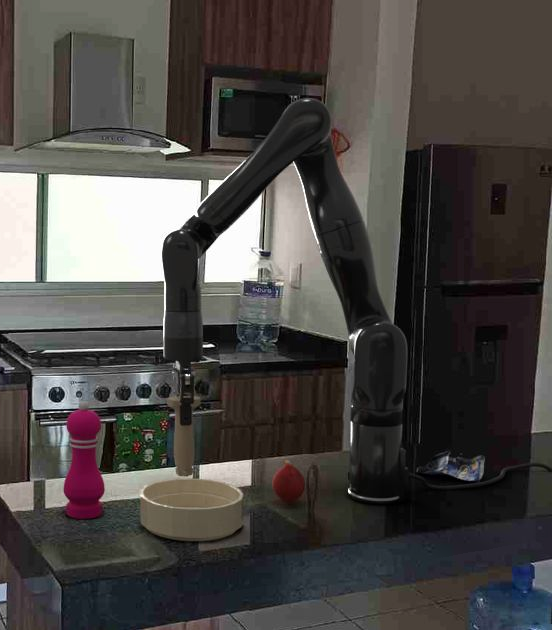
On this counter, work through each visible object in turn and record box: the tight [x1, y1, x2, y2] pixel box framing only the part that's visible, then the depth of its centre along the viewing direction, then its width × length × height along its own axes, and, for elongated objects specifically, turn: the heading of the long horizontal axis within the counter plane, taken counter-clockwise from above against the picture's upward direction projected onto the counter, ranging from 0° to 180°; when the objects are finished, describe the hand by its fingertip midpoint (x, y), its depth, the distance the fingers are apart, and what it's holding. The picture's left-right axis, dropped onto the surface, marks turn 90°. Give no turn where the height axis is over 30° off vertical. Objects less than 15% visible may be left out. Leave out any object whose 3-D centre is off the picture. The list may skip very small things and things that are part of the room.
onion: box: [271, 460, 306, 505], centre depth 150 cm, size 6×6×8 cm
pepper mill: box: [62, 400, 106, 520], centre depth 144 cm, size 7×7×20 cm
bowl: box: [139, 477, 245, 542], centre depth 139 cm, size 17×17×6 cm
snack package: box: [416, 450, 486, 483], centre depth 168 cm, size 12×6×12 cm
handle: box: [166, 395, 202, 478], centre depth 159 cm, size 5×6×15 cm
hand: (183, 421), depth 159 cm, fingers closed on handle, 5 cm apart
